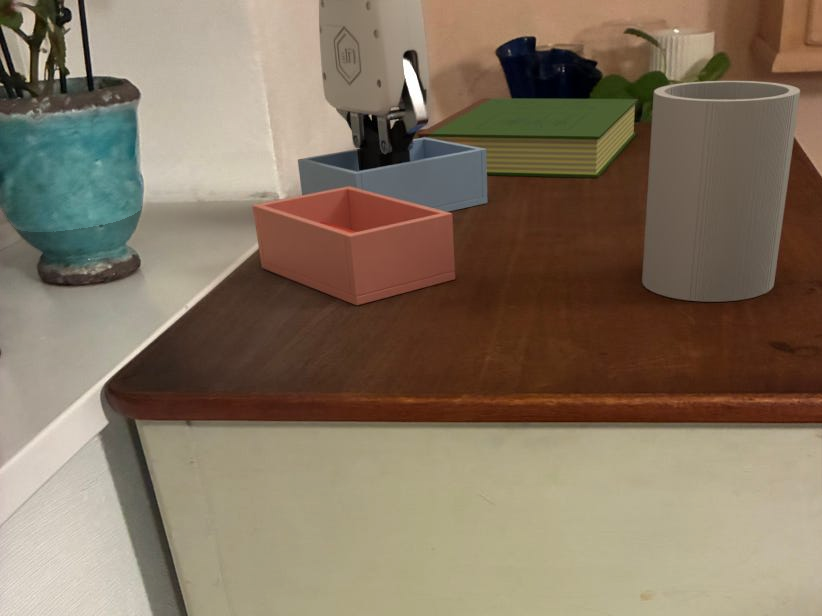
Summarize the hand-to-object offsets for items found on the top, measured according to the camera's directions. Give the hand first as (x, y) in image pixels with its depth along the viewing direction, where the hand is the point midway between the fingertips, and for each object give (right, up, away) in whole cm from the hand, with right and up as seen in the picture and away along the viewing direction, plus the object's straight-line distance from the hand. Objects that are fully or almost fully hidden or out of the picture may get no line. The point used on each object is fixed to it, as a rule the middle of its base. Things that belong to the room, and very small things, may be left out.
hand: (386, 195), depth 92 cm
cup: (+25, -15, -20) cm, 35 cm away
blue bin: (+1, -1, +1) cm, 2 cm away
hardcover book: (+15, +14, +21) cm, 29 cm away
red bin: (-1, -13, -16) cm, 20 cm away
